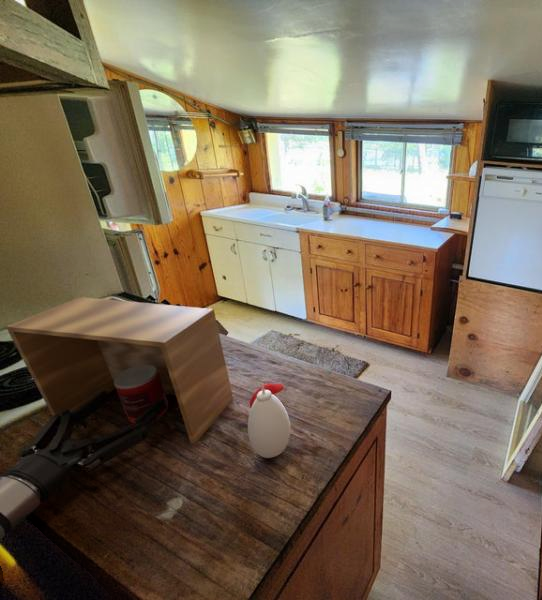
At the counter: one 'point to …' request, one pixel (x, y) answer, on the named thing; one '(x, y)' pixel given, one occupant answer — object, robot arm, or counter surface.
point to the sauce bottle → (268, 425)
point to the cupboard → (126, 354)
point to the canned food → (139, 390)
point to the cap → (271, 387)
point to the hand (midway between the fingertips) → (135, 399)
